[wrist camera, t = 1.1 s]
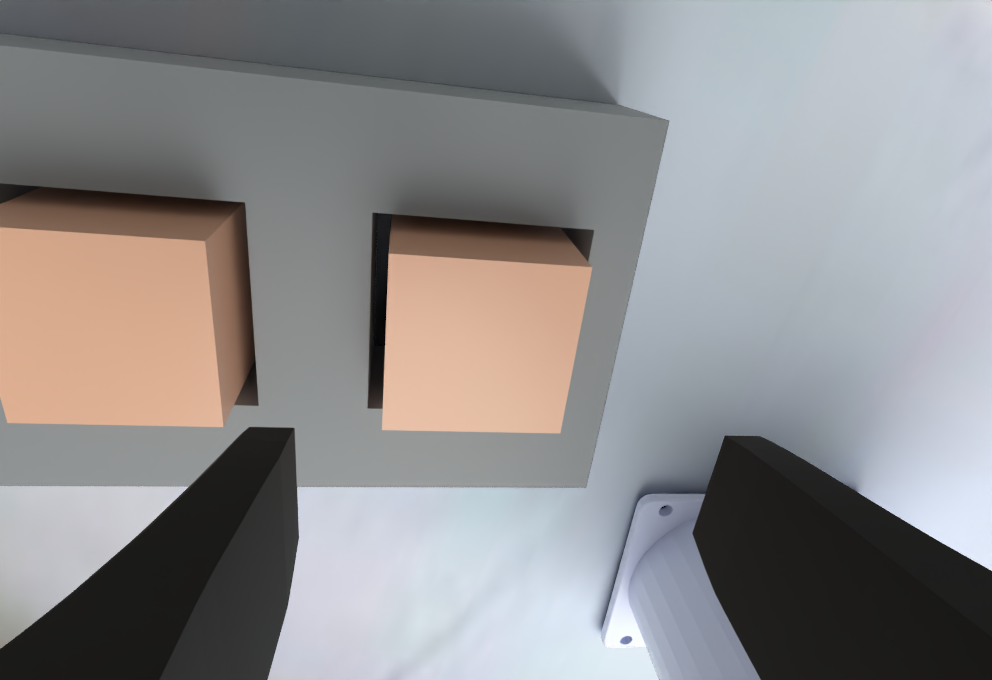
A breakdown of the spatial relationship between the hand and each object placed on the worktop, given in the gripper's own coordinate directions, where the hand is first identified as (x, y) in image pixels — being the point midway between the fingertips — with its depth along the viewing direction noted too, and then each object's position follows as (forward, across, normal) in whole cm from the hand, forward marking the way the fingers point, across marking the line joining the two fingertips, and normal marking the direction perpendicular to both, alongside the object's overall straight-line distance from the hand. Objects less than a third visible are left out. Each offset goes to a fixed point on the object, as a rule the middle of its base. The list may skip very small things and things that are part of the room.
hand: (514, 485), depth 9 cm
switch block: (+9, +4, 0) cm, 10 cm away
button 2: (+8, 0, 0) cm, 8 cm away
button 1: (+8, +8, 0) cm, 11 cm away
